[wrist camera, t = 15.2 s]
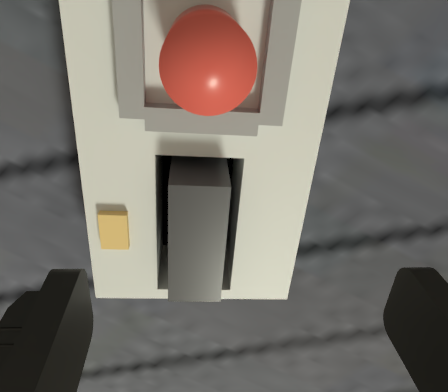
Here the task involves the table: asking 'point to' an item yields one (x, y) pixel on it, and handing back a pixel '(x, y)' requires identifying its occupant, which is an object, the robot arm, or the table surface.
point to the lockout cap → (207, 61)
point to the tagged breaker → (197, 227)
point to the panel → (197, 136)
